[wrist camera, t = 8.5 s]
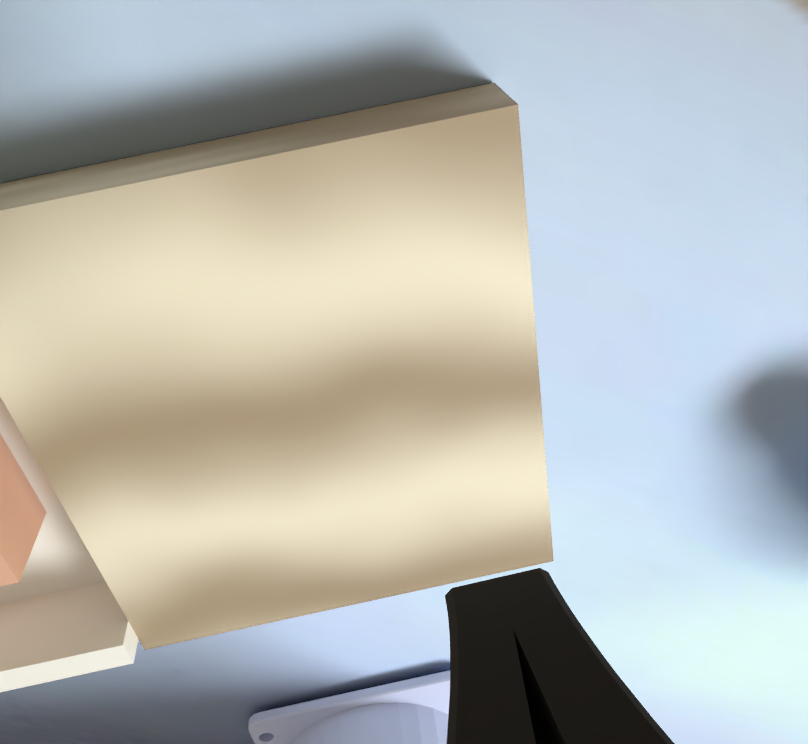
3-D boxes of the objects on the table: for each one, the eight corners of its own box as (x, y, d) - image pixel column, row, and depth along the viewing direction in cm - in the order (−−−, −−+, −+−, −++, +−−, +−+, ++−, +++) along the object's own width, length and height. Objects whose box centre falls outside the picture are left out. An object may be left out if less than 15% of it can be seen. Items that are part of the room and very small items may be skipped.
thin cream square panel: (534, 513, 23) (553, 560, 22) (154, 595, 23) (144, 649, 21) (494, 82, 16) (517, 104, 15) (-55, 194, 16) (-95, 230, 14)
